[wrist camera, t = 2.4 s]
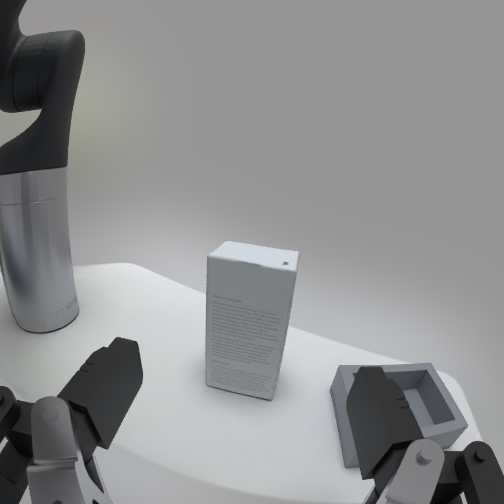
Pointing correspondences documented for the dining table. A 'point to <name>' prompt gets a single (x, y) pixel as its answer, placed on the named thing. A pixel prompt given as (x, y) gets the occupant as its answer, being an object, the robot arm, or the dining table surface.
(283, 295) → the skincare box
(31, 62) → the robot arm
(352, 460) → the gray tray
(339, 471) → the dining table surface
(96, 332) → the dining table surface
